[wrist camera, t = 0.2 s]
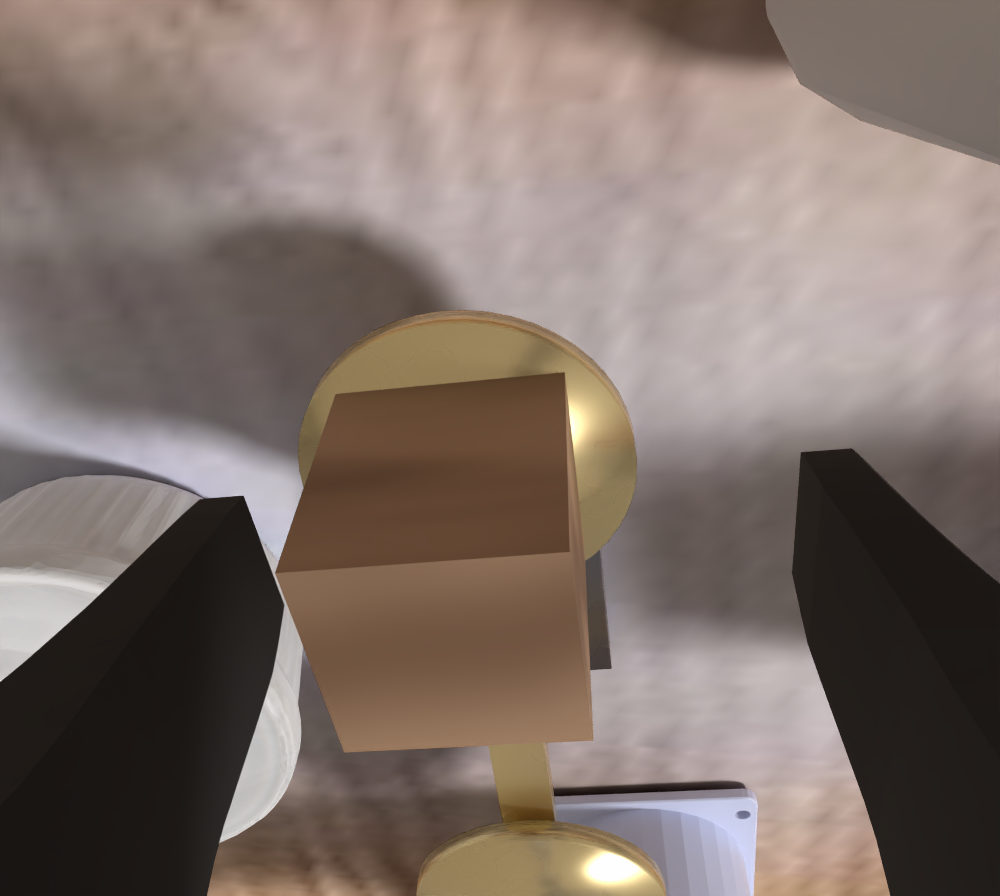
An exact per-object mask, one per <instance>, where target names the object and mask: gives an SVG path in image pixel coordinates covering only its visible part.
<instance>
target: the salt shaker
mask: <svg viewBox="0 0 1000 896" xmlns="http://www.w3.org/2000/svg"><path fill="white" fill-rule="evenodd" d="M766 12H767V17H768V19H769V21H770V23H771V25H772V27H773V29H774V31H775V34H776V36H777V38H778V40H779V42H780V44H781V46H782V48H783V50H784V52H785V54H786V56H787V58H788V60H789V62H790V64H791V66H792V68H793V70H794V73H795V75H796V77H797V79H798V81H799V83H800V84H801V85H803V86H805V87H806V88H808V89H809V90H811V91H813V92H814V93H816V94H818V95H819V96H821V97H823V98H824V99H826V100H827V101H829V102H831V103H832V104H834V105H836V106H837V107H839V108H841V109H842V110H844V111H845V112H847V113H849V114H850V115H852V116H854V117H855V118H857V119H859V120H860V121H863V122H866V123H869V124H872V125H876V126H879V127H882V128H885V129H888V130H891V131H894V132H898V133H901V134H904V135H907V136H910V137H913V138H917V139H920V140H923V141H926V142H929V143H932V144H935V145H939V146H942V147H945V148H948V149H951V150H954V151H958V152H961V153H964V154H967V155H970V156H973V157H976V158H980V159H983V160H986V161H989V162H992V163H995V164H999V165H1000V0H766Z"/></svg>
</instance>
